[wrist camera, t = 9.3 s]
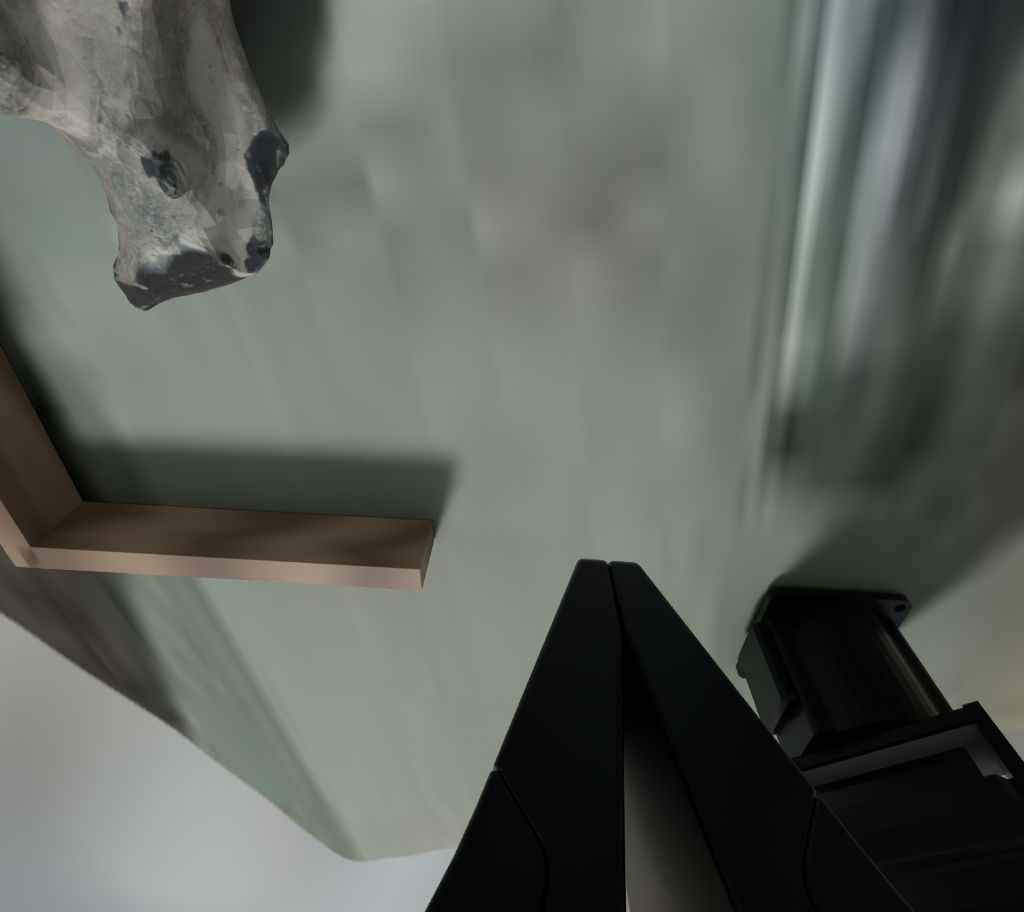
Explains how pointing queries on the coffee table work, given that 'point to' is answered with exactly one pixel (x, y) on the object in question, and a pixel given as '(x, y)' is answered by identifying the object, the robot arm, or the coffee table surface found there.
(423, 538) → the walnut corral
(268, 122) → the decorative stone
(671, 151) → the coffee table surface
